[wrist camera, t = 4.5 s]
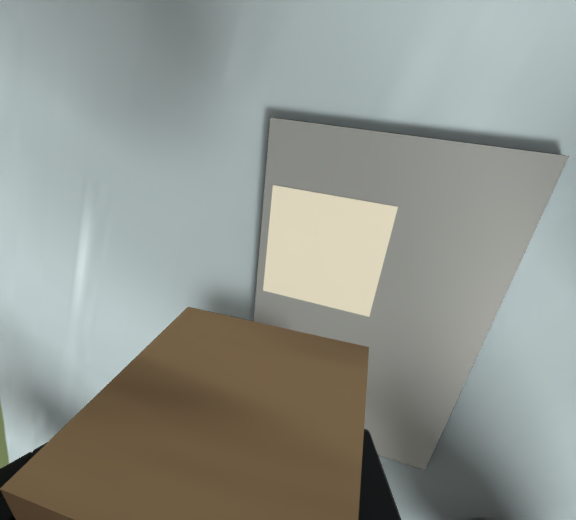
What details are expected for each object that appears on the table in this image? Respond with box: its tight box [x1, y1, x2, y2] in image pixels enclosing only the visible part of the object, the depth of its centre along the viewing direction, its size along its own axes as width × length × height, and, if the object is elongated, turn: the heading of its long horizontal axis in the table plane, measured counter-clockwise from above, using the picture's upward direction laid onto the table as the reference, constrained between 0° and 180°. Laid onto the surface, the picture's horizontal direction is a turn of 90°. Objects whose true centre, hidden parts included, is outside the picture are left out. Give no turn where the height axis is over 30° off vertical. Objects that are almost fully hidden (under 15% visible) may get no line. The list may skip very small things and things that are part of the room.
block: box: [0, 307, 369, 520], centre depth 7 cm, size 5×5×5 cm
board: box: [254, 118, 569, 470], centre depth 20 cm, size 14×22×1 cm, turn 173°
